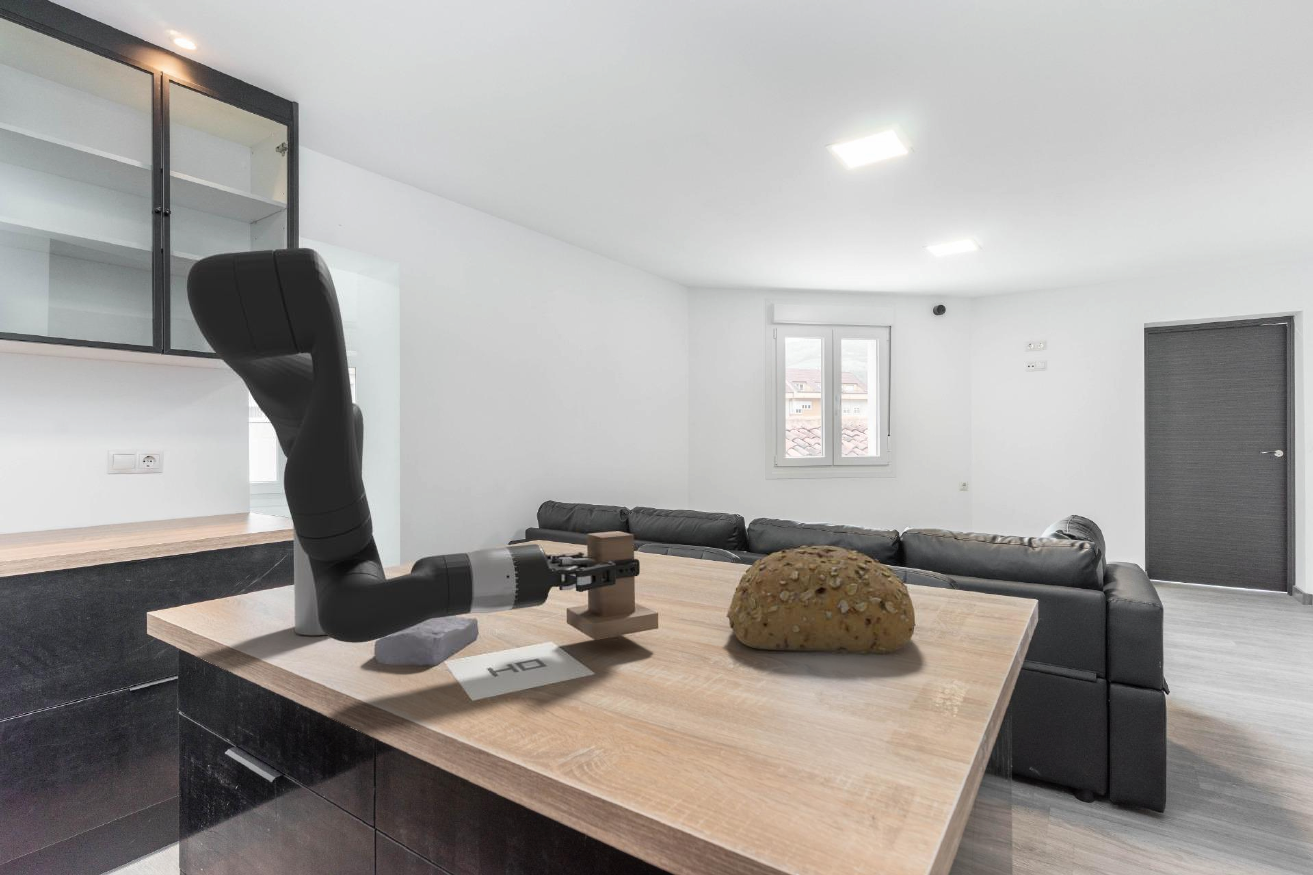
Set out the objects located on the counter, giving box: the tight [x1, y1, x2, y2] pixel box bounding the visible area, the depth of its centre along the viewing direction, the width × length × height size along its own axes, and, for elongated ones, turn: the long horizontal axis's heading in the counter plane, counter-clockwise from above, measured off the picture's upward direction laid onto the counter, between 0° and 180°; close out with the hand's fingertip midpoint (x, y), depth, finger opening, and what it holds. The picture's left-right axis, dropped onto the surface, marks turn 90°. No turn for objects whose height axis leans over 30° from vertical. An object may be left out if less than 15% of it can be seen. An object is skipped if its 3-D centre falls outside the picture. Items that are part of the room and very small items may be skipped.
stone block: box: [373, 615, 480, 666], centre depth 84 cm, size 12×5×10 cm
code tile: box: [443, 641, 596, 702], centre depth 76 cm, size 14×14×1 cm
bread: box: [725, 544, 916, 655], centre depth 88 cm, size 24×21×12 cm
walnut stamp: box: [566, 530, 659, 641], centre depth 85 cm, size 9×9×12 cm
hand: (628, 563), depth 86 cm, fingers closed on walnut stamp, 4 cm apart
